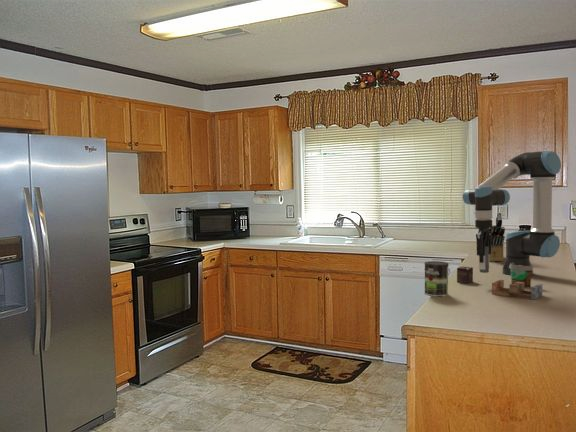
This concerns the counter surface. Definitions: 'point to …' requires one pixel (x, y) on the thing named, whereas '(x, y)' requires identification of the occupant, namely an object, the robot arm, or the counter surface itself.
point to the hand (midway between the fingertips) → (484, 268)
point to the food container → (521, 274)
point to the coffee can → (436, 278)
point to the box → (465, 274)
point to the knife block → (497, 240)
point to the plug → (486, 260)
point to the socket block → (516, 290)
